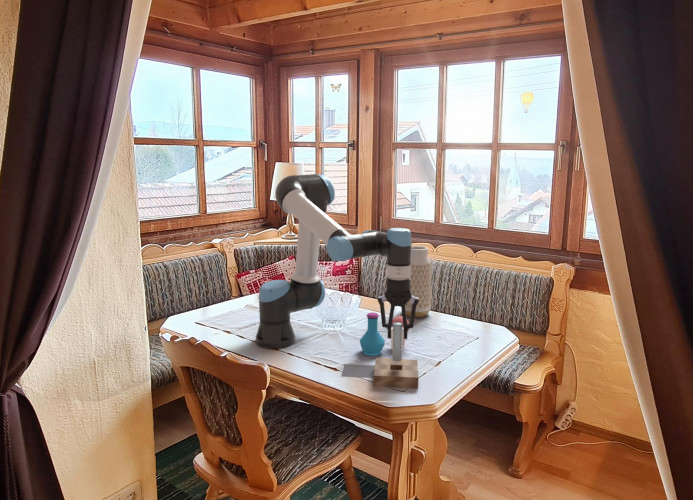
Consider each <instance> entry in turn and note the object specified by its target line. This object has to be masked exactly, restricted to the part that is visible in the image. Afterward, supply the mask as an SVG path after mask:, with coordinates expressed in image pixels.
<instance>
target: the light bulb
mask: <svg viewBox="0 0 693 500" xmlns="http://www.w3.org/2000/svg"><path fill="white" fill-rule="evenodd" d="M393 323H402V328H404V326H403V318H402V315H398V316H395V317H393V321H392V327H393ZM409 323H410V321H409V320H408V319H407V324H409ZM409 331H410V328H409V329H408V331H407V333H408V332H409ZM405 340H406V339H404V344H405Z"/></svg>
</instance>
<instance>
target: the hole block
mask: <svg viewBox="0 0 693 500" xmlns="http://www.w3.org/2000/svg"><path fill="white" fill-rule="evenodd" d="M418 364H419V363H418V359H411V358H410V359H405V358H402V360H401V361H394V360H393V359H392V358H389V357H388V358H386V357H384V358H383V357H382V358H381V357H375V362H374V365H375V369H374V378H373V387H380V388H381V387H382V388H400V389H401V388H402V389H403V388H404V389H419V367H418V366H419V365H418Z"/></svg>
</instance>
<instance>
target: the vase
mask: <svg viewBox="0 0 693 500" xmlns="http://www.w3.org/2000/svg"><path fill="white" fill-rule="evenodd" d="M409 278H410V292H411V294H412V296H414V297H418V298H419V302H418V304H417V306H416V311H415V318H424V317H426V316H427V315H428V314H429V313H430V311H431V308H432V261H431V259H430V257H429V248H428V247H427V246H424V245H411V276H410V277H409ZM405 309H406V317H409V318H410V316H411V309H412V303H411V299H410V300H409V301H408V302H407V304H406V305H405Z"/></svg>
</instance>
